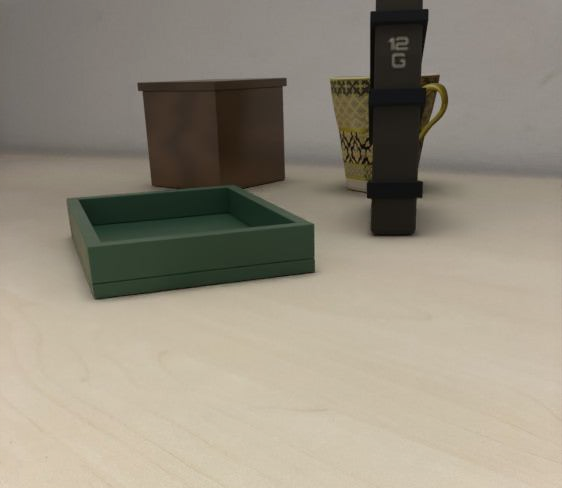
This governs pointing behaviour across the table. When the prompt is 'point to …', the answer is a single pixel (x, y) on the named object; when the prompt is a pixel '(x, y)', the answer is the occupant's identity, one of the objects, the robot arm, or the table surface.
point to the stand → (215, 132)
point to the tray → (185, 239)
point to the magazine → (396, 113)
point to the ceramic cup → (355, 122)
